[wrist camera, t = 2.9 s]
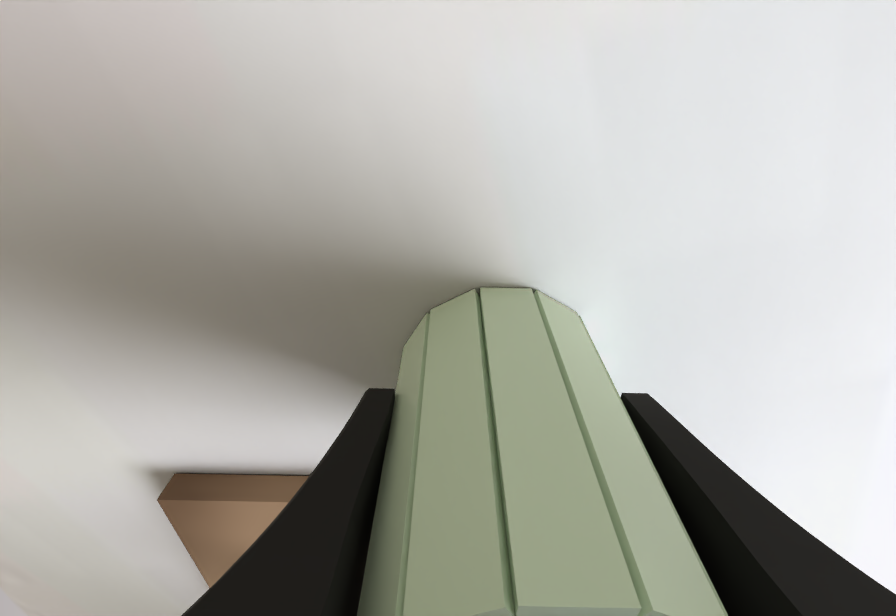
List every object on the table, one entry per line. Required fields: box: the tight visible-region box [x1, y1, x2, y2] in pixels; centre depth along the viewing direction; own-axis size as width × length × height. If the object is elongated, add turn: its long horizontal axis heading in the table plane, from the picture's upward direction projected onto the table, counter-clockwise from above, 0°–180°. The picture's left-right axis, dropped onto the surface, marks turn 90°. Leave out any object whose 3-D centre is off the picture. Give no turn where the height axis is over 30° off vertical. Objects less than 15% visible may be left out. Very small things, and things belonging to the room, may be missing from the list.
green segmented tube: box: [357, 287, 728, 616], centre depth 9 cm, size 5×5×7 cm
